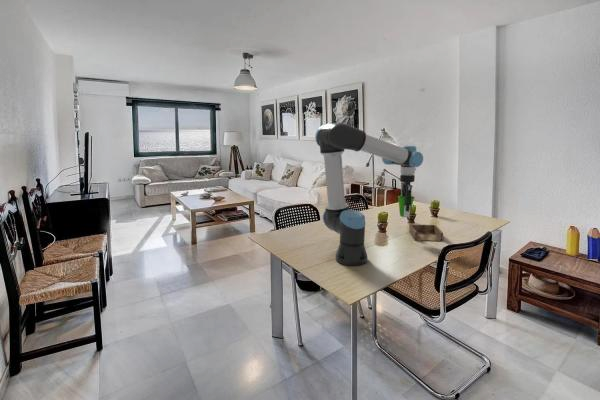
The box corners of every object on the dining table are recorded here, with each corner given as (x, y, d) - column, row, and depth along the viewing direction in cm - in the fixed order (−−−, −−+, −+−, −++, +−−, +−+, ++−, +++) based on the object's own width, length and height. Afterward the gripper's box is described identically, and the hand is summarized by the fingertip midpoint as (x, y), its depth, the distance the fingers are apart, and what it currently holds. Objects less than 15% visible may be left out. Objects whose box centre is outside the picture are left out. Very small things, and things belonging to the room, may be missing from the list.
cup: (415, 215, 184) (416, 196, 182) (410, 218, 177) (412, 199, 174) (399, 213, 189) (400, 194, 187) (394, 216, 181) (395, 197, 179)
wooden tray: (414, 240, 184) (415, 232, 183) (408, 232, 199) (409, 224, 198) (442, 241, 182) (443, 232, 181) (434, 232, 198) (435, 224, 197)
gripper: (419, 177, 167) (416, 219, 171) (410, 172, 188) (407, 210, 193) (404, 176, 168) (401, 219, 172) (397, 172, 189) (394, 209, 194)
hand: (404, 214), depth 182 cm, fingers closed on cup, 9 cm apart
